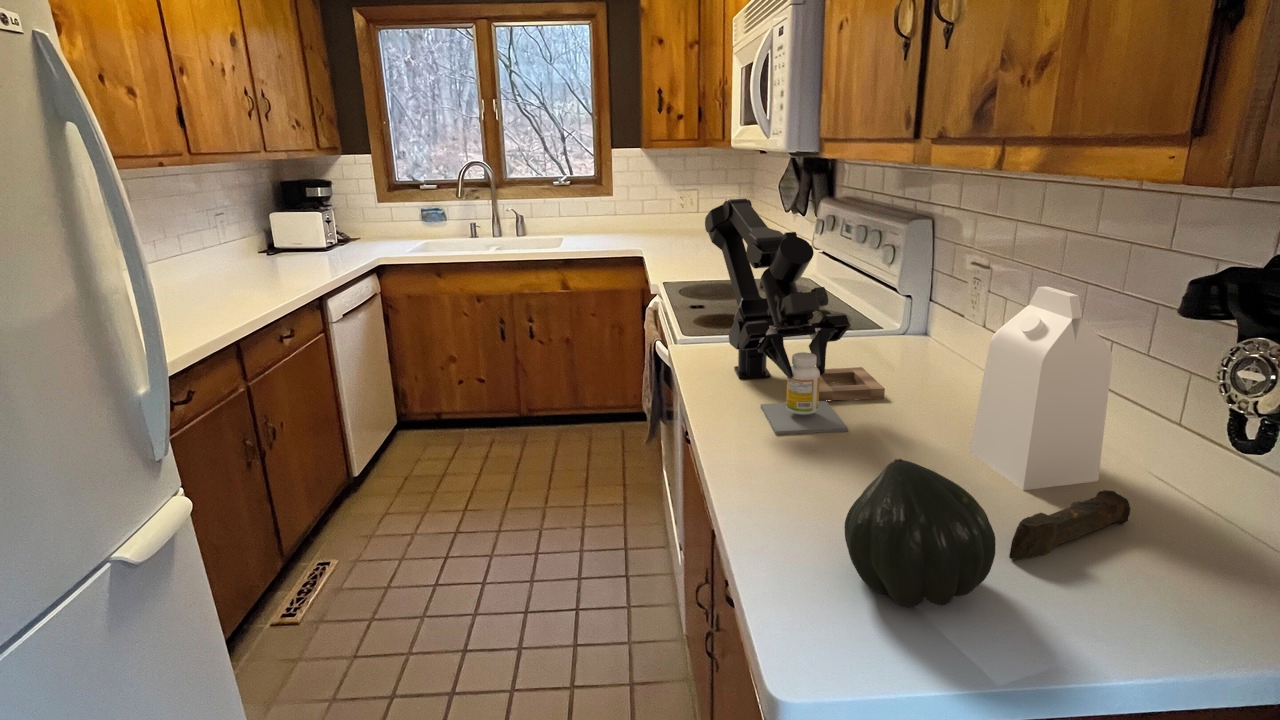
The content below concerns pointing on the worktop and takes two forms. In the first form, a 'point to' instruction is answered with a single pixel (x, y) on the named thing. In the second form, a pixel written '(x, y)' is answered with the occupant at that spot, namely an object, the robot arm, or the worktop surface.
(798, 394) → the supplement bottle
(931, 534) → the squash
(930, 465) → the worktop surface
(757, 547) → the worktop surface
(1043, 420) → the milk
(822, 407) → the slate mat
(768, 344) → the robot arm
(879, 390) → the hole board
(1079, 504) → the hand tool
